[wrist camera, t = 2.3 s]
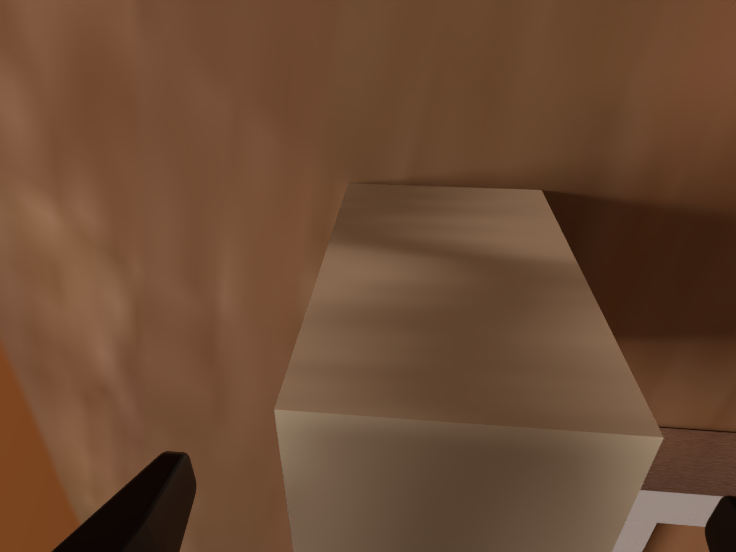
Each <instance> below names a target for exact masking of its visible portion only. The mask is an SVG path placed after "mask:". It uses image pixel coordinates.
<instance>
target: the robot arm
mask: <svg viewBox="0 0 736 552" xmlns="http://www.w3.org/2000/svg"><path fill="white" fill-rule="evenodd" d="M195 493H196V479H195V475H194V472H193V468H192V464H191V461H190V458H189V455H188V454H187V453H184V452H173V451H166V452H164V453H162V454H160V455H159V456H158V457H157V458H156V459H154V460H153V461H152V462H151V463H150V464H149V465H148V466H147V467H145V468H144V469H143V470H142V471H141V472H140V473H139V474H138V475H137V476H135V477H134V478H133V479H132V480H131V481H130V482H129V483H128V484H126V485H125V486H124V487H123V488H122V489H121V490H120V491H119V492H117V493H116V494H115V495H114V496H113V497H112V498H111V499H110V500H109V501H107V502H106V503H105V504H104V505H103V506H102V507H101V508H100V509H98V510H97V511H96V512H95V513H94V514H93V515H92V516H91V517H89V518H88V519H87V520H86V521H85V522H84V523H83V524H82V525H81V526H79V527H78V528H77V529H76V530H75V531H74V532H73V533H72V534H70V535H69V536H68V537H67V538H66V539H65V540H64V541H63V542H62V543H60V544H59V545H58V546H57V547H56V548H55V549H54V550H53V551H52V552H179V551H180V548H181V544H182V540H183V537H184V533H185V530H186V526H187V523H188V519H189V515H190V512H191V508H192V505H193V501H194V498H195ZM705 537H706V541H707V545H708V548H709V552H736V496H731V495H726V496H724V497H722V498H721V499H720V501H719V502H718V504H717V506H716V507H715V509H714V511H713V512H712V514H711V516H710V517H709V519H708V521H707V523H706V526H705Z"/></svg>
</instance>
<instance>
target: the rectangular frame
mask: <svg viewBox="0 0 736 552" xmlns="http://www.w3.org/2000/svg"><path fill="white" fill-rule="evenodd" d="M659 429H660V431H661V433H662V435H663V437H664V438H663V440H662V443H661V445H660V447H659V449H658V451H657V454H656V456H655V458H654V460H653V462H652V465H651V467H650V469H649V471H648V473H647V476H646V478H645V480H644V482H643V484H642V487H641V489H640V491H639V493H638V495H637V498H636V500H635V502H634V504H633V506H632V509H631V511H630V513H629V515H628V517H627V520H626V522H625V524H624V526H623V528H622V530H621V533H620V535H619V537H618V539H617V541H616V544H615V546H614V548H613V550H612V552H642V551H643V549H644V547H645V545H646V543H647V541H648V539H649V538H650V536H651V534H652V532H653V530H654V528H655V526H656V524H657V523H666V524H678V525H690V526H702V527H705V526H706V523H707V521H708V519H709V517H710V516H711V514H712V512H713V511H714V509H715V507H716V506H717V504H718V502H719V501H720V499H721V498H722V497H724V496H726V495H731V496H736V433H729V432H714V431H700V430H686V429H671V428H659Z"/></svg>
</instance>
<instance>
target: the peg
mask: <svg viewBox="0 0 736 552" xmlns="http://www.w3.org/2000/svg"><path fill="white" fill-rule="evenodd" d="M274 412H275V419H276V427H277V434H278V442H279V449H280V456H281V464H282V471H283V478H284V486H285V493H286V501H287V508H288V515H289V523H290V530H291V537H292V545H293V552H612V550H613V548H614V546H615V544H616V541H617V539H618V537H619V535H620V533H621V530H622V528H623V526H624V524H625V522H626V520H627V517H628V515H629V513H630V511H631V509H632V506H633V504H634V502H635V500H636V498H637V495H638V493H639V491H640V489H641V487H642V484H643V482H644V480H645V478H646V476H647V473H648V471H649V469H650V467H651V465H652V462H653V460H654V458H655V456H656V454H657V451H658V449H659V447H660V445H661V443H662V440H663V438H664V437H663V435H662V433H661V431H660V429H659V427H658V425H657V423H656V421H655V419H654V417H653V415H652V413H651V411H650V409H649V407H648V404H647V402H646V400H645V398H644V396H643V394H642V392H641V390H640V388H639V386H638V384H637V382H636V380H635V378H634V376H633V374H632V372H631V370H630V368H629V366H628V364H627V362H626V360H625V358H624V356H623V354H622V352H621V350H620V348H619V346H618V344H617V342H616V340H615V338H614V336H613V334H612V332H611V330H610V328H609V326H608V324H607V322H606V320H605V317H604V315H603V313H602V311H601V309H600V307H599V305H598V303H597V301H596V299H595V297H594V295H593V293H592V291H591V289H590V287H589V285H588V283H587V281H586V279H585V277H584V275H583V273H582V271H581V269H580V267H579V265H578V263H577V261H576V259H575V257H574V255H573V253H572V251H571V249H570V247H569V245H568V243H567V241H566V239H565V237H564V235H563V233H562V230H561V228H560V226H559V224H558V222H557V220H556V218H555V216H554V214H553V212H552V210H551V208H550V206H549V204H548V202H547V200H546V198H545V196H544V194H543V192H542V190H526V189H498V188H471V187H443V186H416V185H388V184H361V183H348V186H347V189H346V192H345V195H344V198H343V201H342V204H341V207H340V210H339V213H338V216H337V219H336V223H335V226H334V229H333V232H332V235H331V238H330V241H329V244H328V247H327V250H326V253H325V256H324V259H323V262H322V265H321V268H320V271H319V274H318V277H317V280H316V284H315V287H314V290H313V293H312V296H311V299H310V302H309V305H308V308H307V311H306V314H305V317H304V320H303V323H302V326H301V329H300V332H299V335H298V338H297V341H296V345H295V348H294V351H293V354H292V357H291V360H290V363H289V366H288V369H287V372H286V375H285V378H284V381H283V384H282V387H281V390H280V393H279V396H278V399H277V402H276V406H275V409H274Z"/></svg>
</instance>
